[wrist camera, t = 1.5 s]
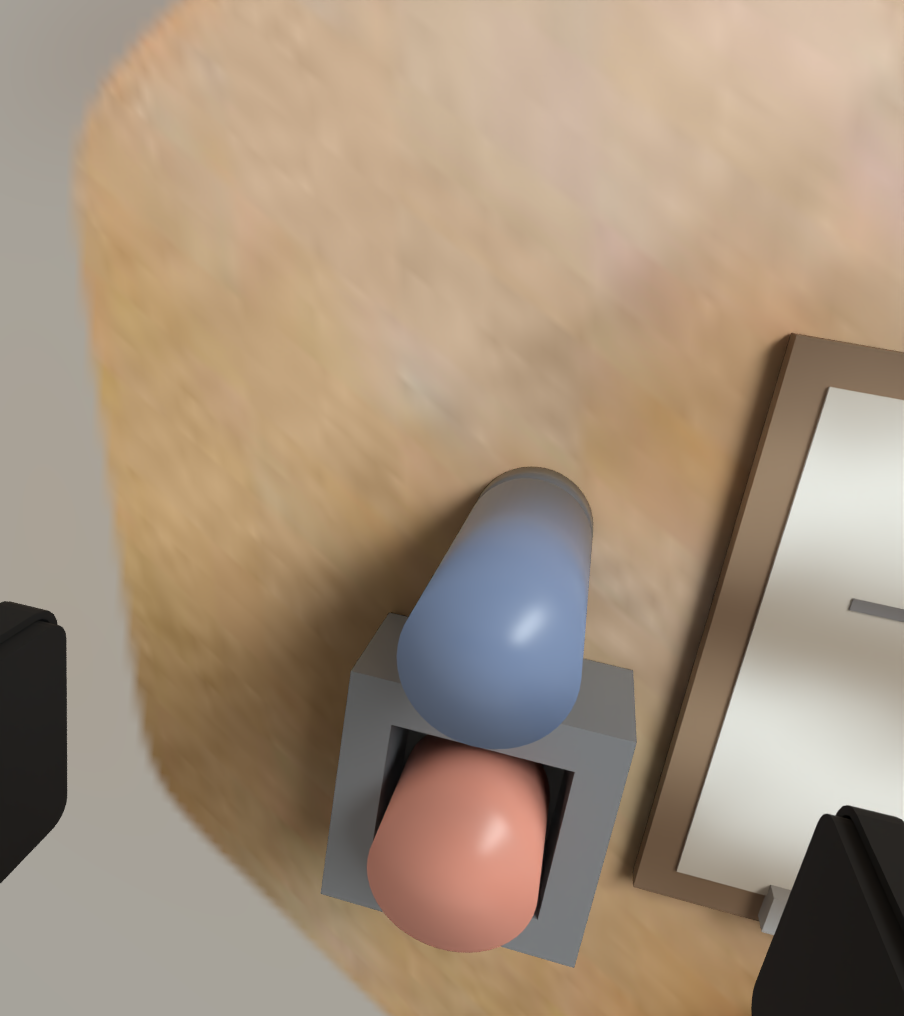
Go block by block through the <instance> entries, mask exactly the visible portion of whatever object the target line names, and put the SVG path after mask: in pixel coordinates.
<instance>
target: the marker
mask: <svg viewBox="0 0 904 1016" xmlns="http://www.w3.org/2000/svg"><path fill="white" fill-rule="evenodd" d="M592 538H593V517H592V512H591V508H590V506H589V503H588V501H587V499H586V498H585V496H584V494H583V493H582V492H581V490H580V489H579V488H578V487H577V486H576V485H575V484H574V483H573V482H572V481H571V480H569V479H568V478H567V477H565V476H563V475H562V474H560V473H558V472H555V471H553V470H550V469H546V468H541V467H522V468H517V469H513V470H510V471H508V472H505V473H503V474H502V475H500V476H498V477H497V478H495V479H494V480H493V481H492V482H491V483H490V484H489V485H488V486H487V487H486V488H485V489H484V491H483V492H482V494H481V495H480V497H479V499H478V500H477V502H476V504H475V505H474V507H473V509H472V511H471V512H470V514H469V516H468V517H467V519H466V521H465V522H464V524H463V526H462V528H461V529H460V531H459V533H458V534H457V536H456V538H455V539H454V541H453V543H452V544H451V546H450V548H449V550H448V551H447V553H446V555H445V556H444V558H443V560H442V561H441V563H440V565H439V567H438V568H437V570H436V572H435V573H434V575H433V577H432V578H431V580H430V582H429V584H428V585H427V587H426V589H425V590H424V592H423V594H422V595H421V597H420V599H419V601H418V602H417V604H416V606H415V607H414V609H413V611H412V612H411V614H410V616H409V618H408V619H407V621H406V623H405V624H404V627H403V629H402V632H401V634H400V638H399V642H398V647H397V668H398V673H399V678H400V681H401V684H402V687H403V689H404V691H405V694H406V696H407V698H408V699H409V701H410V702H411V704H412V705H413V707H414V708H415V710H416V711H417V712H418V713H419V714H420V716H421V717H422V718H423V719H424V720H426V721H427V722H428V723H429V724H430V725H431V726H432V727H434V728H435V729H436V730H438V731H439V732H441V733H442V734H444V735H446V736H448V737H449V738H451V739H454V740H456V741H458V742H460V743H464V744H467V745H470V746H474V747H479V748H485V749H509V748H516V747H520V746H524V745H528V744H530V743H533V742H535V741H537V740H540V739H541V738H543V737H545V736H546V735H548V734H550V733H551V732H552V731H553V730H555V729H556V728H557V727H558V726H559V725H560V724H561V723H562V722H563V721H564V720H565V719H566V717H567V716H568V714H569V713H570V711H571V710H572V708H573V706H574V704H575V702H576V699H577V696H578V693H579V690H580V684H581V677H582V664H583V651H584V639H585V626H586V614H587V601H588V588H589V576H590V563H591V550H592Z"/></svg>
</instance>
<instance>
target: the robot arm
mask: <svg viewBox="0 0 904 1016" xmlns="http://www.w3.org/2000/svg"><path fill="white" fill-rule="evenodd" d="M66 684H67V679H66V633H65V631H64V629H63V628H62V627H61V626H59V625H57V620H56V618H55V616H54V614H52V613H51V612H50V611H47V610H43V609H38V608H35V607H31V606H26V605H22V604H18V603H14V602H6V601H4V602H1V603H0V883H1V882H2V881H3V880H4V879H5V878H6V877H7V876H8V875H9V874H10V873H11V872H12V871H13V870H14V869H15V868H16V867H17V866H18V865H19V864H20V862H21V861H22V860H23V859H24V858H25V857H26V856H27V855H28V854H29V853H30V852H31V851H32V850H33V849H34V848H35V847H36V846H37V845H38V844H39V843H40V841H42V839H43V838H44V837H45V836H46V835H47V834H48V833H49V832H50V831H51V830H52V829H53V828H54V827H55V825H56V824H57V823H58V821H59V819H60V818H61V816H62V813H63V811H64V809H65V805H66V801H67V698H66V697H67V686H66ZM751 1008H752V1016H904V821H903V820H902V819H900V818H898V817H895V816H891V815H887V814H883V813H879V812H875V811H870V810H866V809H862V808H858V807H854V806H850V805H845V806H842V807H841V808H840V809H839V810H838V811H837V813H836V815H831V814H823V815H822V816H821V817H820V819H819V821H818V823H817V825H816V828H815V830H814V833H813V836H812V838H811V841H810V843H809V846H808V848H807V851H806V854H805V856H804V859H803V861H802V864H801V867H800V869H799V872H798V874H797V877H796V880H795V882H794V885H793V887H792V890H791V892H790V895H789V898H788V900H787V903H786V905H785V908H784V911H783V913H782V916H781V918H780V921H779V924H778V926H777V929H776V931H775V934H774V936H773V939H772V942H771V944H770V947H769V949H768V952H767V955H766V957H765V960H764V962H763V965H762V967H761V970H760V973H759V975H758V978H757V980H756V983H755V986H754V990H753V996H752V1007H751Z"/></svg>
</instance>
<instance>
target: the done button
mask: <svg viewBox="0 0 904 1016" xmlns="http://www.w3.org/2000/svg"><path fill="white" fill-rule="evenodd" d="M549 801H550V788H549V782H548V778H547V775H546V772H545V770H544V768H543V766H542V764H541V763H538V762H534V761H530V760H526V759H522V758H518V757H514V756H510V755H507V754H503V753H499V752H495V751H491V750H487V749H483V748H479V747H474V746H470V745H467V744H464V743H460V742H456V741H452V740H449V739H445V738H441V737H437V736H433V735H429V734H427V735H426V736H424V737H423V738H422V739H421V740H420V741H419V742H418V743H417V744H416V745H415V747H414V748H413V750H412V751H411V753H410V755H409V757H408V760H407V762H406V764H405V767H404V769H403V772H402V774H401V776H400V779H399V781H398V783H397V786H396V788H395V791H394V793H393V795H392V798H391V800H390V802H389V805H388V807H387V810H386V812H385V814H384V817H383V819H382V821H381V824H380V826H379V829H378V831H377V833H376V836H375V838H374V841H373V843H372V845H371V848H370V850H369V854H368V859H367V876H368V881H369V885H370V888H371V891H372V894H373V896H374V898H375V900H376V902H377V903H378V905H379V906H380V908H381V909H382V911H383V912H384V913H385V915H386V916H387V917H388V918H389V919H390V920H391V921H392V922H393V923H394V924H395V925H396V926H397V927H398V928H400V929H401V930H402V931H404V932H405V933H407V934H408V935H410V936H411V937H413V938H415V939H416V940H418V941H421V942H423V943H425V944H427V945H430V946H433V947H436V948H439V949H443V950H447V951H454V952H469V953H470V952H481V951H486V950H491V949H494V948H497V947H500V946H502V945H504V944H506V943H508V942H510V941H511V940H513V939H514V938H516V937H517V936H518V935H519V934H520V933H521V932H522V931H523V930H524V929H525V928H526V927H527V925H528V924H529V922H530V921H531V919H532V917H533V915H534V912H535V909H536V906H537V900H538V893H539V884H540V876H541V868H542V859H543V851H544V843H545V835H546V826H547V818H548V810H549Z"/></svg>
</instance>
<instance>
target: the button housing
mask: <svg viewBox="0 0 904 1016" xmlns="http://www.w3.org/2000/svg"><path fill="white" fill-rule="evenodd" d="M408 618H409V617H406V616H402V615H398V614H393V613H389V614H388V615H387V617H386V618H385V620H384V621H383V623H382V624H381V626H380V627H379V629H378V630H377V632H376V633H375V635H374V637H373V638H372V640H371V641H370V643H369V644H368V646H367V647H366V649H365V650H364V652H363V653H362V655H361V656H360V658H359V660H358V661H357V663H356V664H355V666H354V667H353V669H352V670H351V674H350V682H349V689H348V696H347V704H346V711H345V719H344V726H343V733H342V741H341V748H340V755H339V763H338V770H337V778H336V785H335V792H334V800H333V807H332V814H331V822H330V829H329V836H328V844H327V851H326V859H325V866H324V873H323V881H322V888H321V894H323V895H327V896H330V897H334V898H337V899H340V900H344V901H347V902H351V903H354V904H357V905H361V906H364V907H368V908H371V909H375V910H378V911H381V912H383V911H382V909H381V908H380V906H379V905H378V903H377V902H376V900H375V898H374V896H373V894H372V891H371V888H370V885H369V881H368V876H367V859H368V854H369V850H370V848H371V845H372V843H373V841H374V838H375V836H376V833H377V831H378V829H379V826H380V824H381V821H382V819H383V817H384V814H385V812H386V810H387V807H388V805H389V802H390V800H391V798H392V795H393V793H394V791H395V788H396V786H397V783H398V781H399V779H400V776H401V774H402V772H403V769H404V767H405V764H406V762H407V760H408V757H409V755H410V753H411V751H412V750H413V748H414V747H415V745H416V744H417V743H418V742H419V741H420V740H421V739H422V738H423V737H424V736H426V735H427V734H429V735H433V736H437V737H441V738H445V739H449V740H452V741H456V740H454V739H451V738H449V737H448V736H446V735H444V734H442V733H441V732H439V731H438V730H436V729H435V728H434V727H432V726H431V725H430V724H429V723H428V722H427V721H426V720H424V719H423V718H422V717H421V716H420V714H419V713H418V712H417V711H416V710H415V708H414V707H413V705H412V704H411V702H410V701H409V699H408V698H407V696H406V694H405V691H404V689H403V687H402V684H401V681H400V678H399V673H398V668H397V647H398V642H399V638H400V634H401V632H402V629H403V627H404V624H405V623H406V621H407V619H408ZM456 742H458V741H456ZM636 743H637V741H636V720H635V700H634V679H633V670H628V669H624V668H620V667H616V666H612V665H607V664H603V663H599V662H595V661H591V660H586V659H583V664H582V677H581V684H580V690H579V693H578V696H577V699H576V702H575V704H574V706H573V708H572V710H571V711H570V713H569V714H568V716H567V717H566V719H565V720H564V721H563V722H562V723H561V724H560V725H559V726H558V727H557V728H556V729H555V730H553V731H552V732H551V733H550V734H548V735H546V736H545V737H543V738H541V739H540V740H537V741H535V742H533V743H530V744H528V745H524V746H520V747H516V748H509V749H487V750H491V751H495V752H499V753H503V754H507V755H510V756H514V757H518V758H522V759H526V760H530V761H534V762H538V763H541V764H542V766H543V768H544V770H545V772H546V775H547V778H548V782H549V788H550V801H549V810H548V818H547V826H546V835H545V843H544V851H543V859H542V868H541V876H540V884H539V893H538V900H537V906H536V909H535V912H534V915H533V917H532V919H531V921H530V922H529V924H528V925H527V927H526V928H525V929H524V930H523V931H522V932H521V933H520V934H519V935H518V936H517V937H516V938H514V939H513V940H511V941H510V942H508V943H506V944H504V945H502V946H501V947H505V948H508V949H511V950H515V951H518V952H522V953H525V954H528V955H532V956H535V957H539V958H542V959H546V960H549V961H552V962H556V963H559V964H563V965H566V966H570V967H573V968H574V967H575V963H576V959H577V956H578V952H579V948H580V945H581V941H582V938H583V934H584V930H585V927H586V923H587V920H588V916H589V912H590V909H591V905H592V902H593V898H594V894H595V891H596V887H597V884H598V880H599V876H600V873H601V869H602V866H603V862H604V858H605V855H606V851H607V848H608V844H609V840H610V837H611V833H612V829H613V826H614V822H615V819H616V815H617V811H618V808H619V804H620V801H621V797H622V793H623V790H624V786H625V783H626V779H627V775H628V772H629V768H630V765H631V761H632V757H633V754H634V750H635V747H636ZM483 749H485V748H483Z"/></svg>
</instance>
